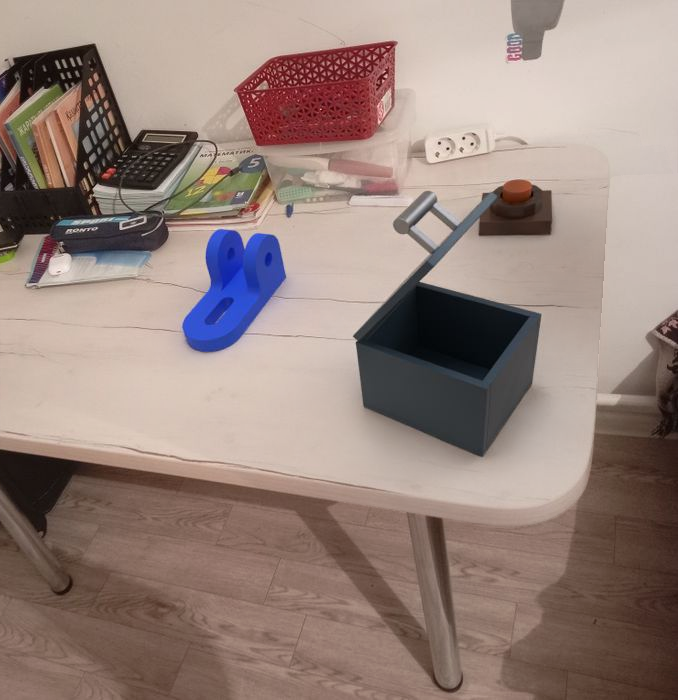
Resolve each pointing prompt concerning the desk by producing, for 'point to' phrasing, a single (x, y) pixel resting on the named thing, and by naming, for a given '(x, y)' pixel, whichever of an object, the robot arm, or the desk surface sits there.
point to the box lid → (425, 245)
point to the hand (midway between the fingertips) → (531, 48)
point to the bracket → (234, 288)
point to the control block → (518, 215)
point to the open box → (449, 364)
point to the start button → (517, 191)
